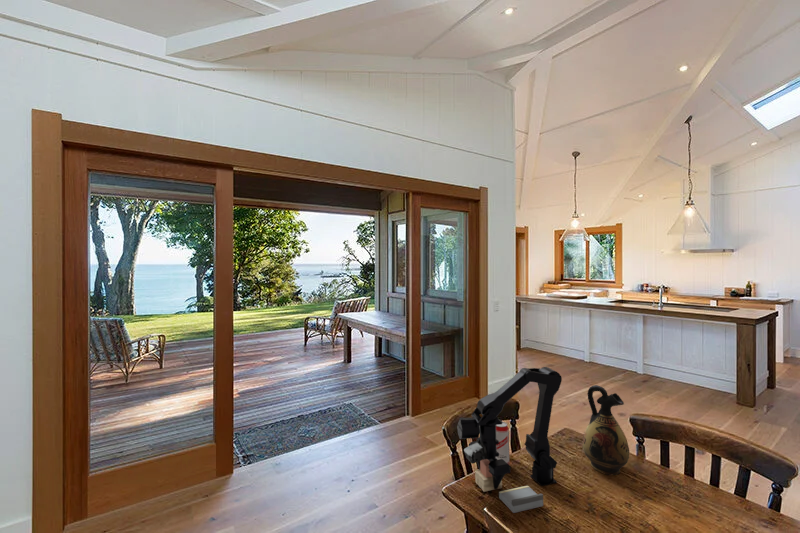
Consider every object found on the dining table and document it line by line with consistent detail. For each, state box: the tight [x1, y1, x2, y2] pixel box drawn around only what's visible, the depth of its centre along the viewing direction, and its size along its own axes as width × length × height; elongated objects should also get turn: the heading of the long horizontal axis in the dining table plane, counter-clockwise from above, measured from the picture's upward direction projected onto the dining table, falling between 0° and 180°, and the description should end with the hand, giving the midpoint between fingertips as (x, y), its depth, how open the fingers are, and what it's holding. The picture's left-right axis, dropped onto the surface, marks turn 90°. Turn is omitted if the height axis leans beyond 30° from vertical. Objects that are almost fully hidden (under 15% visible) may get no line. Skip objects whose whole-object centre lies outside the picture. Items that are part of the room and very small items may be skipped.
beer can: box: [496, 420, 510, 465], centre depth 140 cm, size 6×6×16 cm
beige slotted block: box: [474, 469, 503, 493], centre depth 128 cm, size 7×6×4 cm
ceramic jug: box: [582, 384, 631, 476], centre depth 138 cm, size 17×15×30 cm
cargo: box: [480, 459, 492, 478], centre depth 128 cm, size 4×4×4 cm
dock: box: [498, 485, 544, 514], centre depth 118 cm, size 11×8×4 cm
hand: (488, 481), depth 128 cm, fingers open, 9 cm apart
